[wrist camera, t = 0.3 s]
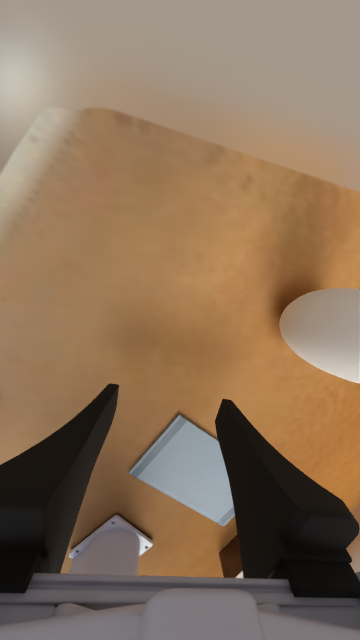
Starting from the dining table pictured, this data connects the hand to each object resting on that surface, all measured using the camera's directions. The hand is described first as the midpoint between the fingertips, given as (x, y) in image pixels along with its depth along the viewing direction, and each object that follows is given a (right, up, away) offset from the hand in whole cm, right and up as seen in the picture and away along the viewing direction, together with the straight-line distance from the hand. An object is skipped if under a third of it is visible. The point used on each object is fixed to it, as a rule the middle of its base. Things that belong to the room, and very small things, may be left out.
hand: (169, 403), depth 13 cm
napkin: (+4, -17, +14) cm, 22 cm away
